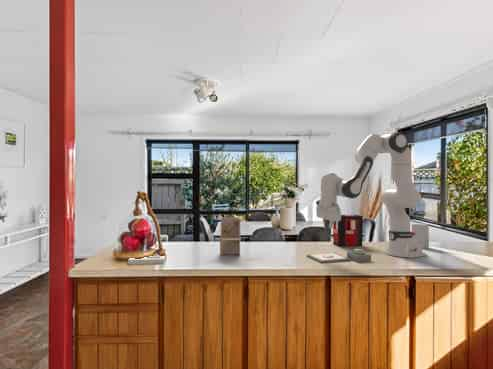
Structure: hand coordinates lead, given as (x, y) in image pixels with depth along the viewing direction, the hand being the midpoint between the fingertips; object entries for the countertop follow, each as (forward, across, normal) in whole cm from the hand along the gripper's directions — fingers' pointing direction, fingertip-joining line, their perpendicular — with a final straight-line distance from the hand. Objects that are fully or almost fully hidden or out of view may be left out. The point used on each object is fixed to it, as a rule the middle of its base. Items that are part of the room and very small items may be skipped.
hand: (328, 227), depth 191 cm
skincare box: (+17, +11, -75) cm, 78 cm away
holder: (+19, +39, +92) cm, 102 cm away
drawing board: (+17, 0, 0) cm, 17 cm away
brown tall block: (+18, +25, +50) cm, 58 cm away
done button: (+15, -7, -15) cm, 22 cm away
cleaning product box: (+17, +31, -34) cm, 49 cm away
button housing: (+17, -7, -15) cm, 24 cm away
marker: (+4, 0, 0) cm, 4 cm away
